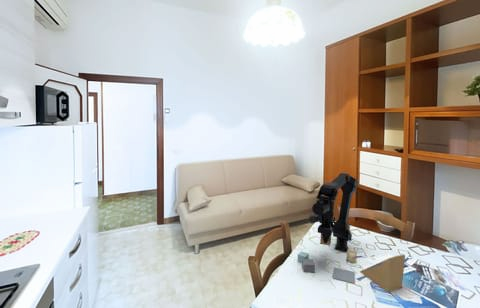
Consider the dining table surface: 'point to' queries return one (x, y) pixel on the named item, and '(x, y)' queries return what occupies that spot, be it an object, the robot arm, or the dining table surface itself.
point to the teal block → (302, 256)
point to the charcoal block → (308, 265)
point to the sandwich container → (387, 273)
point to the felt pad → (344, 275)
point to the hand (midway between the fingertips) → (325, 240)
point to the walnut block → (327, 241)
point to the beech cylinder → (351, 256)
